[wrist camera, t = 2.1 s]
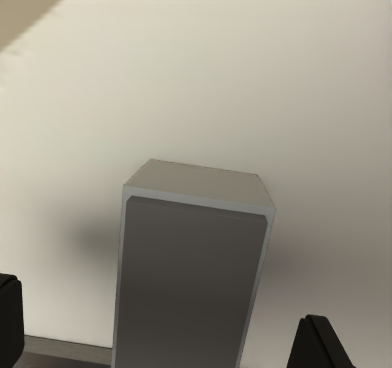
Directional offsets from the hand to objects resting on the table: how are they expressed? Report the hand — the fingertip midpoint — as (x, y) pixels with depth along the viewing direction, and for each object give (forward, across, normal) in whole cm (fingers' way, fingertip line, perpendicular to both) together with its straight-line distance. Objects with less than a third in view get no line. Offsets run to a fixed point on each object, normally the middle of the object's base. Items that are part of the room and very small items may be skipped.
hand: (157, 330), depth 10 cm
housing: (+6, -1, 0) cm, 6 cm away
